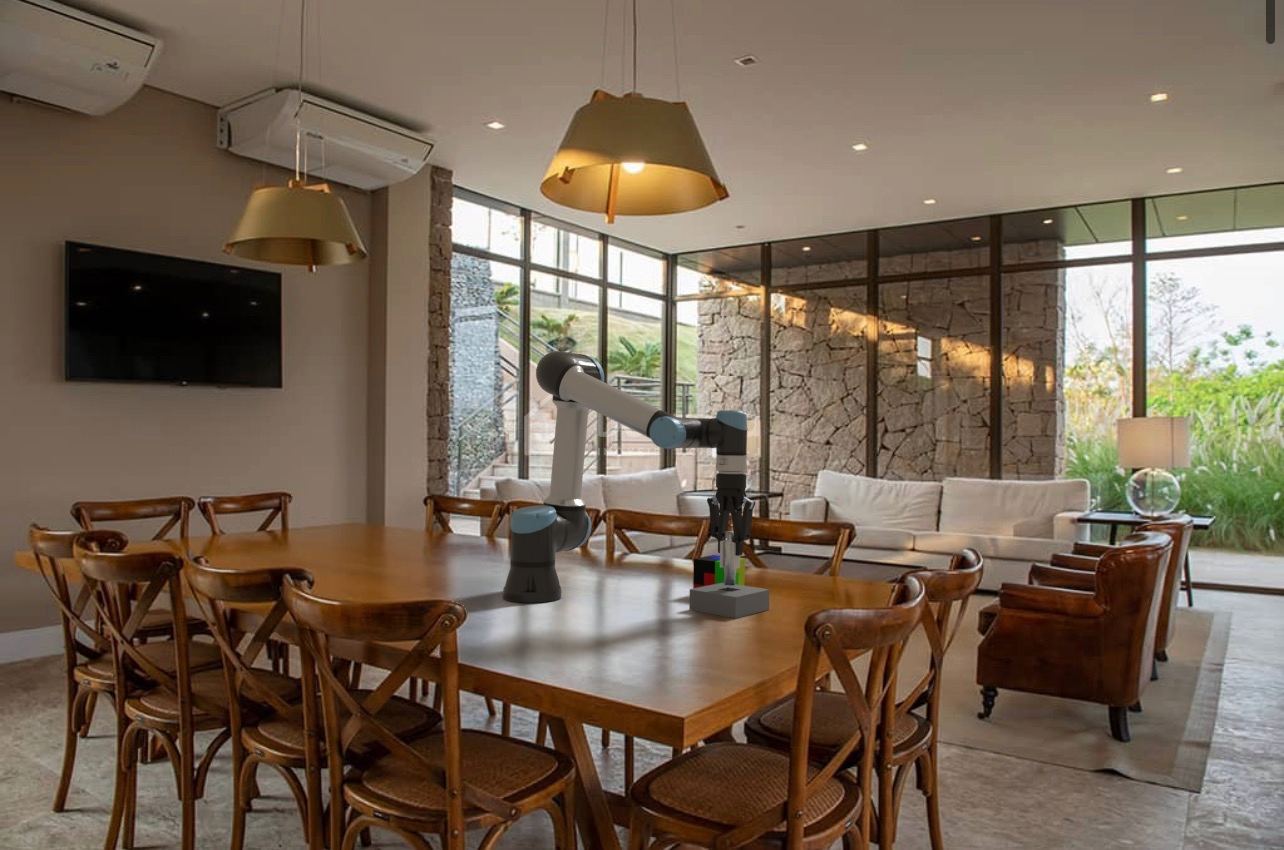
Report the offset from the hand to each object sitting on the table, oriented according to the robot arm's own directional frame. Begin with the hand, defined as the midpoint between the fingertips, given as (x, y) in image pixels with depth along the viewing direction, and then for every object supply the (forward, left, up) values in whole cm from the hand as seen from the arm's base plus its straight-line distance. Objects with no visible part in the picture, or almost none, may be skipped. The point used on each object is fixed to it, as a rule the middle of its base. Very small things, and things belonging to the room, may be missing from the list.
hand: (729, 567), depth 214 cm
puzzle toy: (-13, +13, -11) cm, 21 cm away
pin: (0, 0, -4) cm, 4 cm away
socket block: (0, 0, -10) cm, 10 cm away
